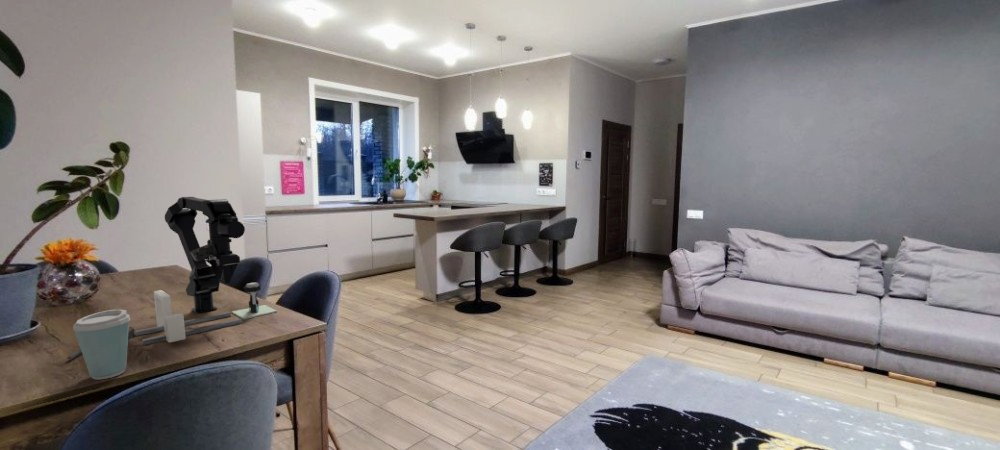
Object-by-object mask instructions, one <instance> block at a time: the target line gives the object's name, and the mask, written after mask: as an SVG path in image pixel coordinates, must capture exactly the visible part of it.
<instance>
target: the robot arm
mask: <svg viewBox="0 0 1000 450" xmlns="http://www.w3.org/2000/svg"><path fill="white" fill-rule="evenodd" d="M232 206H233V205H232V204H231V203H230V201H229V200H228V199H226V198H225V199H224V198H222V199H209V200H208V199H206V198H205V199H204V198H199V197H195V196H181V197H179V198H178V199H177V201H176V202H175V203H173V204H171V206H168V208H167V210H166V211H165V213H164V222H166V224H167V226H168V227H169V228H168V229H170V230H171V231H173V232H174V233H175V234H177V235H178V238H179V240H180V244H181V246H182V249H183V251H184V254H185V256H186V258H187V261H188V264H189V267H190V269H191V270H190V271H191V272H190V274H189V277H188V279H189V282H188V285H187V286H186V288H185V291H186V294H187V295H186V296H190V297H193V302H194V307H193V308H191V311H192V312H194V313H195V314H201V313H205V312H209V311H210V312H211V311H216V310H218V308H217V307H216V306H215V305H214V296H213V293H215V292H216V293H217V292H219V288H220V284H221V283H220V282H221V279H222V276H223V280H224V283H225V284H227V285H228V284H230V283H231V280H232V278H233V276H234V274H235V272H236V269H237V267H238V265H239V264H240V263H241V257H240V256H239V255H238V254H236V253H233V250H231V243H232V239H239V238H241V237H242V236H243V235H244V233H245V231H246V228H245V225H244V224H243V223H242V222H241V221H239V218H238V216H237V213H236V211H235V210H234V208H233V207H232ZM198 212H202V215H203V216H205V217H207V219H206V220H205V223H207V224H208V232H209V239H208V240H207V241H206V242H207V244H205V245H202V246H200V243H199V241H198V239H197V236H196V235H197V234H195V231H194V228H195V224H196V217H197V215H198Z"/></svg>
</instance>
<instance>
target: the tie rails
mask: <svg viewBox="0 0 1000 450" xmlns="http://www.w3.org/2000/svg"><path fill="white" fill-rule="evenodd" d="M231 316H232V313H231V312H230V311H226V312H221V313H217V314H212V315H208V316H202V317H197V318H193V319H192V318H191V319H188V320H187V319H186V320H184V325H185V326H191V325H195V324H201V323H204V322H209V321H215V320H219V319H224V318H229V317H231ZM242 323H243V319H242V318H237V319H232V320H227V321H222V322H218V323H213V324H207V325H204V326H199V327H193V328H191V329H185V337H186V336H190V335H195V334H199V333H205V332H207V331H213V330H217V329H221V328H226V327H230V326H231V327H232V326H235V325H240V324H242ZM162 331H164V326H160V327H157V326H153V327H148V328H143V329H138V330H134V334H135V337H138V336H142V335H148V334H153V333H157V332H162ZM141 341H142V345H143V346H145V345H150V344H154V343H158V342H163V341H167V340H166V334H162V335H157V336H154V337H153V336H152V337H148V338H144V339H141Z"/></svg>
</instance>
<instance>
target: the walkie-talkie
mask: <svg viewBox="0 0 1000 450" xmlns="http://www.w3.org/2000/svg"><path fill="white" fill-rule="evenodd" d="M134 336H135V337H136V335H135V327H132V326H129V329H128V341H129V340H130V339H132V338H134ZM80 354H82V351H81V348H80V349H78V350H77V351H75V352H73V353H72V354H70V355H69V356H67V360H69V361H70V360H73V359H74V358H76V357H77V356H79V355H80Z"/></svg>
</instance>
